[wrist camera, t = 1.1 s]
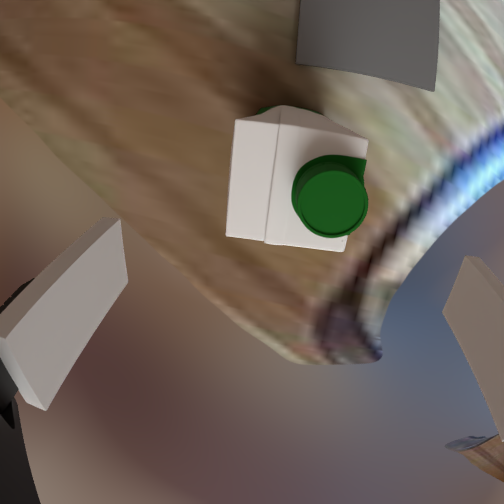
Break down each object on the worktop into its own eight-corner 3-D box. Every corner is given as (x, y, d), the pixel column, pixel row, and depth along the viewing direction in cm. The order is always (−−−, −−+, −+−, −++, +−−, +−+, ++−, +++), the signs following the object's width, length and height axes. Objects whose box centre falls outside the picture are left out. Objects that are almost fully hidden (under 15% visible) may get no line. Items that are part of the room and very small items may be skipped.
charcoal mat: (303, -56, 23) (304, -59, 22) (435, -24, 22) (438, -26, 21) (295, 63, 30) (295, 63, 29) (430, 91, 30) (434, 91, 29)
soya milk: (321, 184, 37) (355, 279, 19) (244, 173, 37) (206, 259, 19) (334, 110, 32) (391, 135, 15) (252, 98, 33) (216, 109, 15)
